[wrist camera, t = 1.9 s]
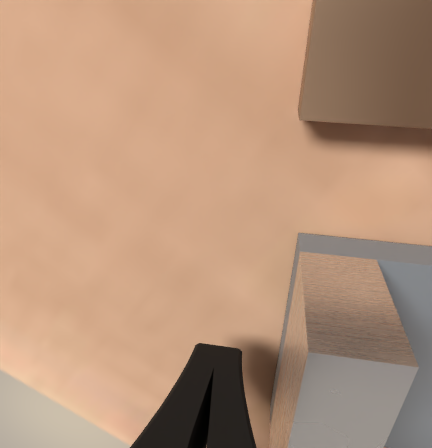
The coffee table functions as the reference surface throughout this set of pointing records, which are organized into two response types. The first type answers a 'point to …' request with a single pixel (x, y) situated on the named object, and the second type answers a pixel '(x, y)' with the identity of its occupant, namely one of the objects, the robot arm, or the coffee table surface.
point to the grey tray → (355, 347)
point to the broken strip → (369, 63)
